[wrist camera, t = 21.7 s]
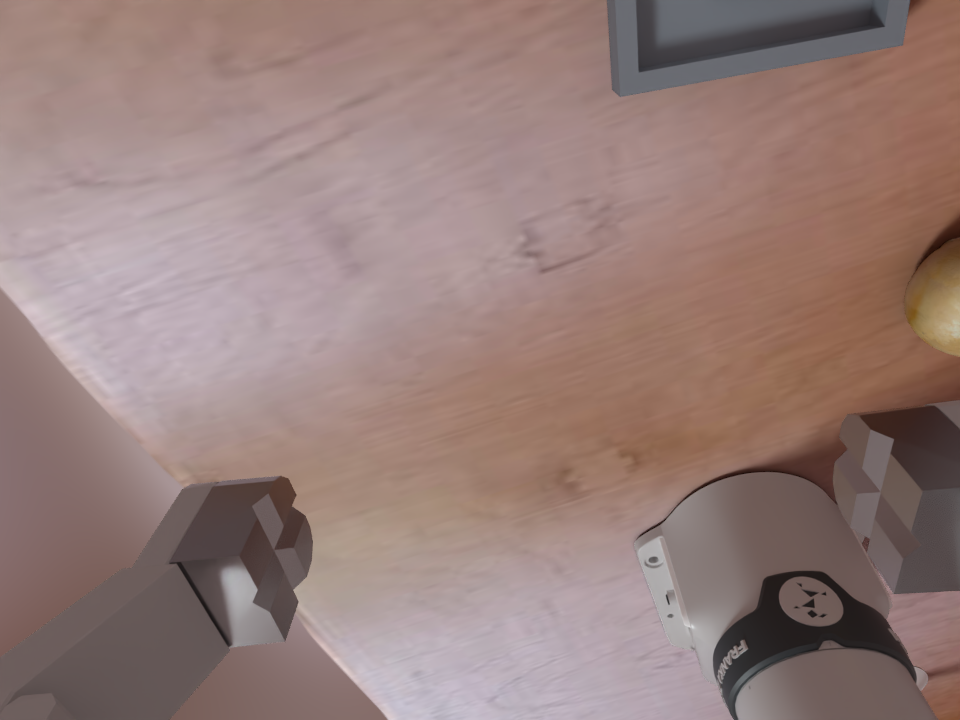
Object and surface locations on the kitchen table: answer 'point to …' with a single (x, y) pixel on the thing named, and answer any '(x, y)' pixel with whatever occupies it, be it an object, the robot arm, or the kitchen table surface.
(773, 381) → the kitchen table surface
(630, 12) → the dock
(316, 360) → the kitchen table surface
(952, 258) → the onion
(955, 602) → the kitchen table surface
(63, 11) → the kitchen table surface
